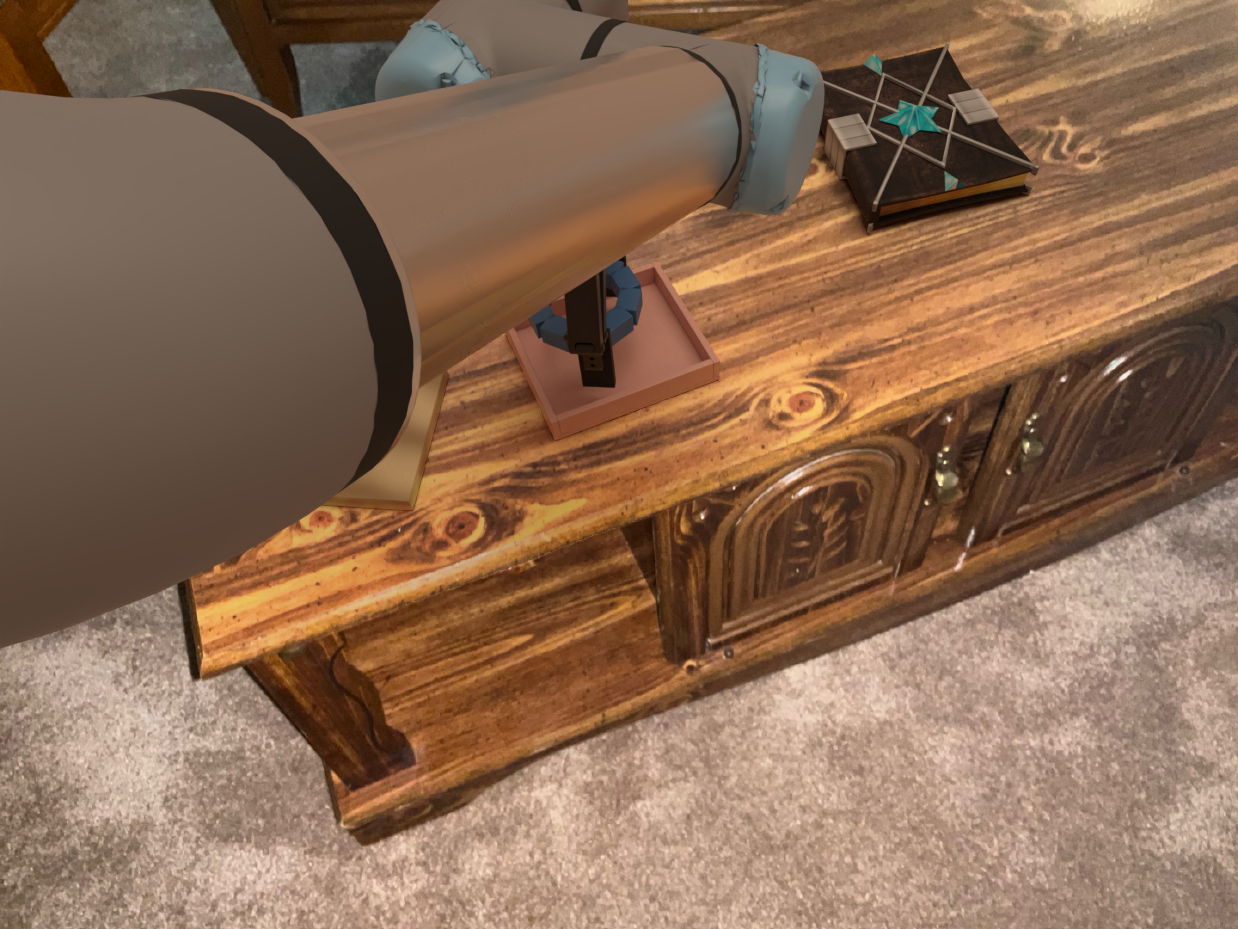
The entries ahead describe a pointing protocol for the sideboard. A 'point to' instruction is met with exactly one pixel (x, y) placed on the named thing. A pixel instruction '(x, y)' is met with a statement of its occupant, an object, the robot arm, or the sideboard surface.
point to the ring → (616, 318)
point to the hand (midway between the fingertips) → (606, 337)
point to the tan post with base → (400, 459)
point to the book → (916, 138)
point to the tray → (620, 361)
